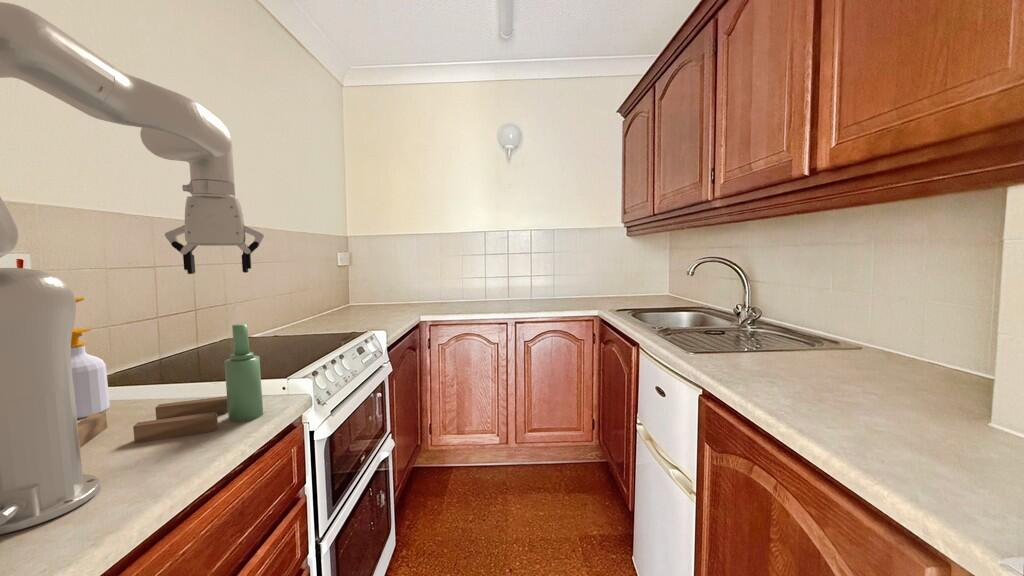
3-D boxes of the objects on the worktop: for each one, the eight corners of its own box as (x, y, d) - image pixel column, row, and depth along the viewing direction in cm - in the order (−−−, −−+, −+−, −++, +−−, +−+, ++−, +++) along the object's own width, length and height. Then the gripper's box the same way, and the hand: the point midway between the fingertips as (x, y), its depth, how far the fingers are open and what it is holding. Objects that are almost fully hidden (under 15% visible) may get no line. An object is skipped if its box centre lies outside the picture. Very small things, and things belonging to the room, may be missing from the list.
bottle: (260, 419, 85) (254, 326, 83) (225, 424, 82) (218, 328, 81) (265, 409, 90) (259, 321, 89) (232, 413, 88) (225, 323, 86)
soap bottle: (79, 421, 85) (66, 300, 83) (35, 421, 85) (21, 301, 83) (121, 405, 94) (111, 295, 92) (81, 405, 94) (70, 296, 92)
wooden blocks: (215, 430, 79) (214, 415, 79) (59, 453, 71) (57, 436, 71) (229, 409, 90) (228, 395, 90) (96, 427, 82) (95, 412, 82)
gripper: (155, 186, 81) (162, 275, 83) (259, 191, 89) (264, 272, 90) (167, 192, 88) (174, 273, 90) (263, 196, 96) (267, 271, 97)
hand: (219, 273), depth 90 cm, fingers open, 9 cm apart
